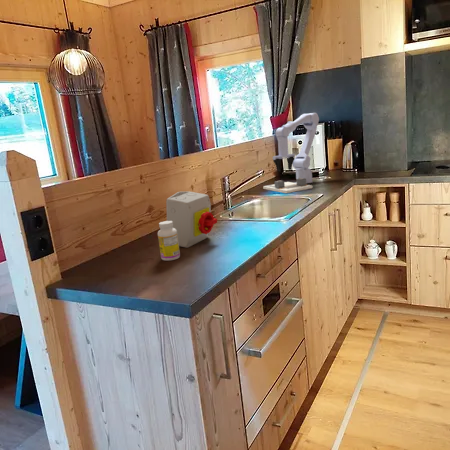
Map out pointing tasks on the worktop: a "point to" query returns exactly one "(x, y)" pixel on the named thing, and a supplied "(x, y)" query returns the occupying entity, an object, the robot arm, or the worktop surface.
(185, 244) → the electrical switch box
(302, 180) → the slider
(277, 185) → the slider
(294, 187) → the panel
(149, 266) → the worktop surface
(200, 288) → the worktop surface
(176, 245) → the supplement bottle
